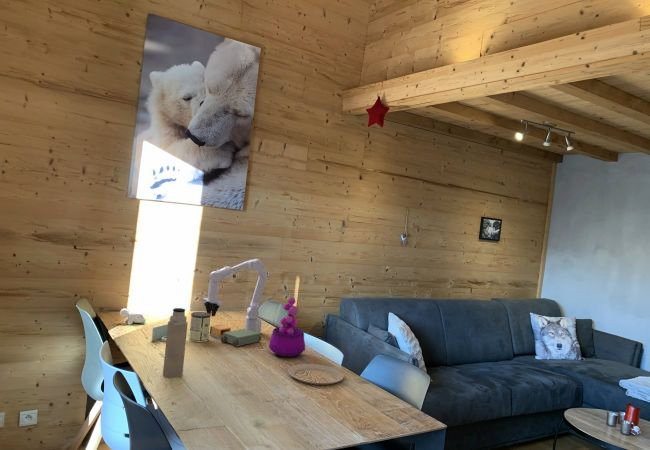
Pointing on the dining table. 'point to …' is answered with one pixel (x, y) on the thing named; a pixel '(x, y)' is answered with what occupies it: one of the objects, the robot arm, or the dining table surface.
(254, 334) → the grey-green flat box
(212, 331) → the orange and grey block
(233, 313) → the dining table surface
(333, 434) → the dining table surface
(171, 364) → the thermos bottle
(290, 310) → the decorative plant
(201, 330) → the coffee can
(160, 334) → the right angle wall
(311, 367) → the plate
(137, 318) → the white lumpy figure
